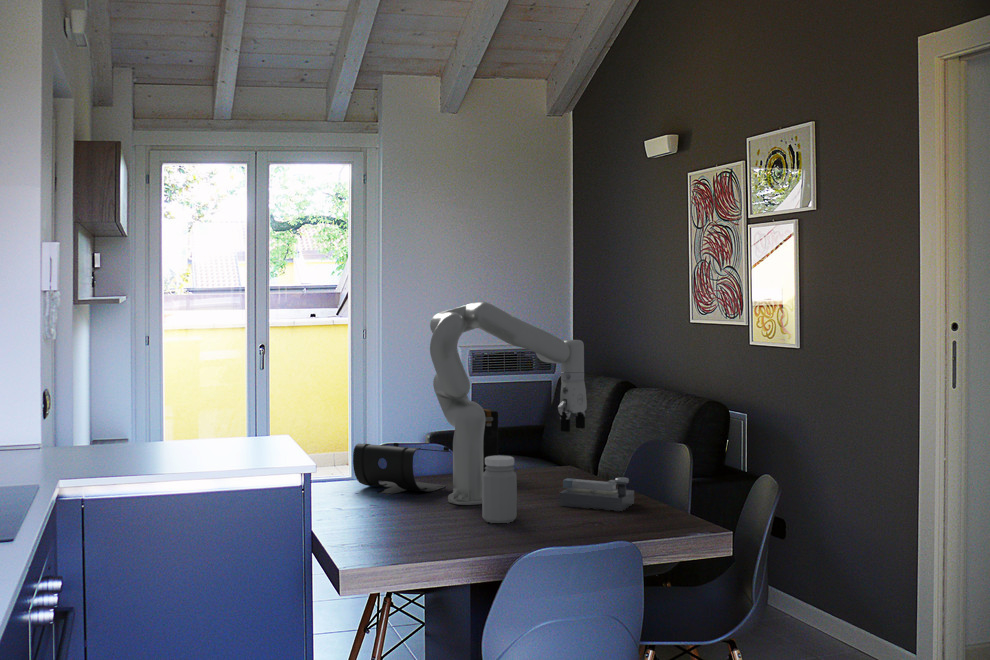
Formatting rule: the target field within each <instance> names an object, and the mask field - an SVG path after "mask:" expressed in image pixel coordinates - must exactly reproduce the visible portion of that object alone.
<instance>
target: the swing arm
mask: <svg viewBox="0 0 990 660" xmlns="http://www.w3.org/2000/svg"><path fill="white" fill-rule="evenodd" d="M629 481H630V479H629V477H624V476H623V477H619V476H618V477H615V479H610V480H608V481H603V480H593V479H592V480H590V479H580V478H579V479H577V478H570V477H569V478H568V477H566V478H564V479H563V480H562V488H563V489H564V488H565V489H568V488H577V489H588V490H600V491H611V492H612V491H614V490H616V489H617V486H616V485H618V484H619V483H620V484H626V485H627V484H629V483H630V482H629Z"/></svg>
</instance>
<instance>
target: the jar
mask: <svg viewBox="0 0 990 660" xmlns="http://www.w3.org/2000/svg"><path fill="white" fill-rule="evenodd" d="M485 464H486V467H485V469H486V470H485V472H484V473H483V474H482V504H481V505H482V507H481V509H482V510H481V515H482V516H481V517H482V518H483V520H484V521H485V522H486V523H488V522H490V523H489V524H492V523H507V524H511V523H510V522H512V523H513V522H514V521H515V520H516V519H517V512H518V511H517V507H518V506H517V504H518V503H517V501H518V499H517V498H518V495H517V493H518V489H517V486H518V484H517V483H518V482H517V481H518V480H517V479H518V478H517V476H518V475H517V473H516V472H515V467H514V465H515V457H513V456H511V455H499V454H498V456H488V457H486V458H485Z"/></svg>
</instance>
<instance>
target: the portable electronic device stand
mask: <svg viewBox="0 0 990 660" xmlns="http://www.w3.org/2000/svg"><path fill="white" fill-rule="evenodd" d="M418 450H420V451H433V452H443V453H452V451H450V447H449V446H444V447H443V450H442V449H441V450H439V449H430V448H429V449H428V448H421V447H403V446H400V445H399V443H398V442H394V443H393V445H380V444H371V443H357V444H355V446H354V448H353V455H352V467H353V472H354V477H355V478H356V480H357V482H358V483H360V484H361V485H363V486H368V487H377V488H384V489H381V490H377V492H376V493H377V494H385V495H397V494H401V493H404V492H407V491H414V492H416V491H417V492H424V493H432V491H433V492H436V491H435V490H437V491H439V490H438V489H440V490H442V489H441V488H443V489H445V488H446V486H445V485H444V484H437V483H430V482H421V481H416V480H415V476H414V455H415V453H416V451H418ZM380 459H384V460H385V462H386V467H385V468H381V466H380V465H379V460H380ZM444 487H445V488H444Z"/></svg>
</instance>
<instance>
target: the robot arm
mask: <svg viewBox="0 0 990 660" xmlns="http://www.w3.org/2000/svg"><path fill="white" fill-rule="evenodd" d="M429 323H430V325H429V326H430V331H431V333H432V336H431V338H430V343H429V354H430V359H431V361H432V364H433V368H434V370H435V371H434V372H435V375H434V377H433V381H432V382H433V383H432V385H433V390H434V392H435V395H436V398H437V401H438V403H439V405H440V408H441V410H442V412H443V413H442V414H443V415H444V417H445V419H446V421H447V422H448V424H449V425H451V426H452V427H454V431H453V432H454V433H453V439H452V493H450V494H448V496H447V502H448V503H450V504H452V505H453V504H454V505H461V506H476V505H482V474H483V438H484V429H485V413H484V410H483V408H484V407H482V406H481V405H480V404H479V403H477V402H476V401H473V400H470V399H469V397H468V395H469V393H470V389H471V382H470V379H469V376H468V375H467V372H466V370H465V368H464V365H463V363H462V360H461V356H460V354H459V350H458V343H459V339H460V338H461V336H462V335H463V333H466V332H470V331H472V330H475V329H480V330H482V331H484V332H485V333H487V334H490V335H492V336H493V337H496V338H497V339H499V340H501V341H502V342H504V343H507V344H509V345H512V346H514V347H516V348H522V349H526V350H529V351H531V352H534V353H535V355H536V356H537V357H536V358H537V359H539V361H542V362H543V363H548V364H560V380H561V381H560V382H561V385H560V396H559V397H560V398H559V399H560V400H559V405H558V406H557V411H558V415H559V420H560V431H561V432H564V433H565V432H566V433H569V432H571V419H570V417H571V414H576V415H575V428H576V429H585V428H586V416H587V415H586V411H587V410H588V409H587V408H588V407H587V406H588V401H587V400H588V399H587V390H586V384H585V346H584V345H585V344H584V342H583V340H580V339H565V340H562V339H561V338H559V337H557V336H555V335H553V334H551V332H550V333H549V332H548V331H546V330H543V329H541V328H539V327H537V326H534V325H533V324H530V323H528V322H526V321H524V320H522V319H519V318H518V317H516V316H514V315H512V314H510V313H508V312H506V311H505V310H503V309H502V308H501V309H500V308H499V307H497V306H495V305H493V304H491V303H489V302H487V301H474V302H471V303H467V304H464V305H461V306H459V307H454V308H451V309H447V310H443V311H440V312H438V313H436V314H434V315H433V316H432V318H431V320H430V322H429Z"/></svg>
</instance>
